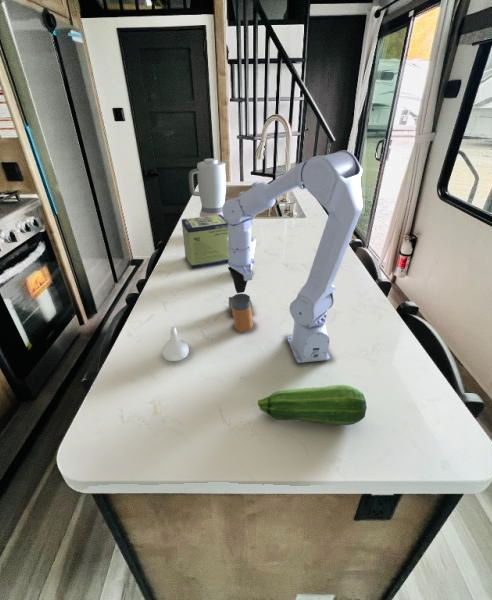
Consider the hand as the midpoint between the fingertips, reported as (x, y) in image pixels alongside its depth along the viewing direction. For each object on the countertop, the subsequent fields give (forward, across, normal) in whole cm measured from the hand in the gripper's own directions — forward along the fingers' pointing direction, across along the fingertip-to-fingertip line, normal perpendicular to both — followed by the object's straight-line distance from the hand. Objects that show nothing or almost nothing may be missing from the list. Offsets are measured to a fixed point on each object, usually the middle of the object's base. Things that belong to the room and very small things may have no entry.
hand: (240, 291), depth 88 cm
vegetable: (+7, -38, -2) cm, 39 cm away
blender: (+7, +59, -5) cm, 60 cm away
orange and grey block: (+6, -4, +1) cm, 7 cm away
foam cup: (+7, +23, -8) cm, 25 cm away
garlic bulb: (+7, -13, +20) cm, 25 cm away
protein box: (+7, +37, +1) cm, 38 cm away
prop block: (+7, 0, 0) cm, 7 cm away
